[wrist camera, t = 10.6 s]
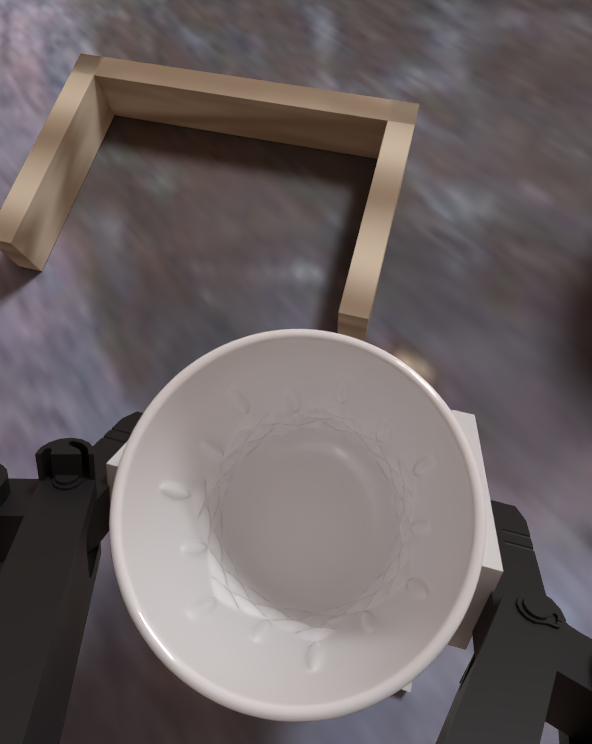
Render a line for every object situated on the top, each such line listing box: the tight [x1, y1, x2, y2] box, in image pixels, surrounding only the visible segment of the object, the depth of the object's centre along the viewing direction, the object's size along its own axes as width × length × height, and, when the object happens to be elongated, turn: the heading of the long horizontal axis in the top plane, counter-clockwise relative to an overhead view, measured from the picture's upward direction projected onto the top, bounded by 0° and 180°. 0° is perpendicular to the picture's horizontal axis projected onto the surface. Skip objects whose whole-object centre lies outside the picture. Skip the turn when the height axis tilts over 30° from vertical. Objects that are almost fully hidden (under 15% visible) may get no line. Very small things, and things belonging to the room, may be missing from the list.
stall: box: [0, 54, 420, 341], centre depth 28 cm, size 14×21×3 cm, turn 75°
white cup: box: [109, 329, 486, 722], centre depth 15 cm, size 8×8×10 cm
